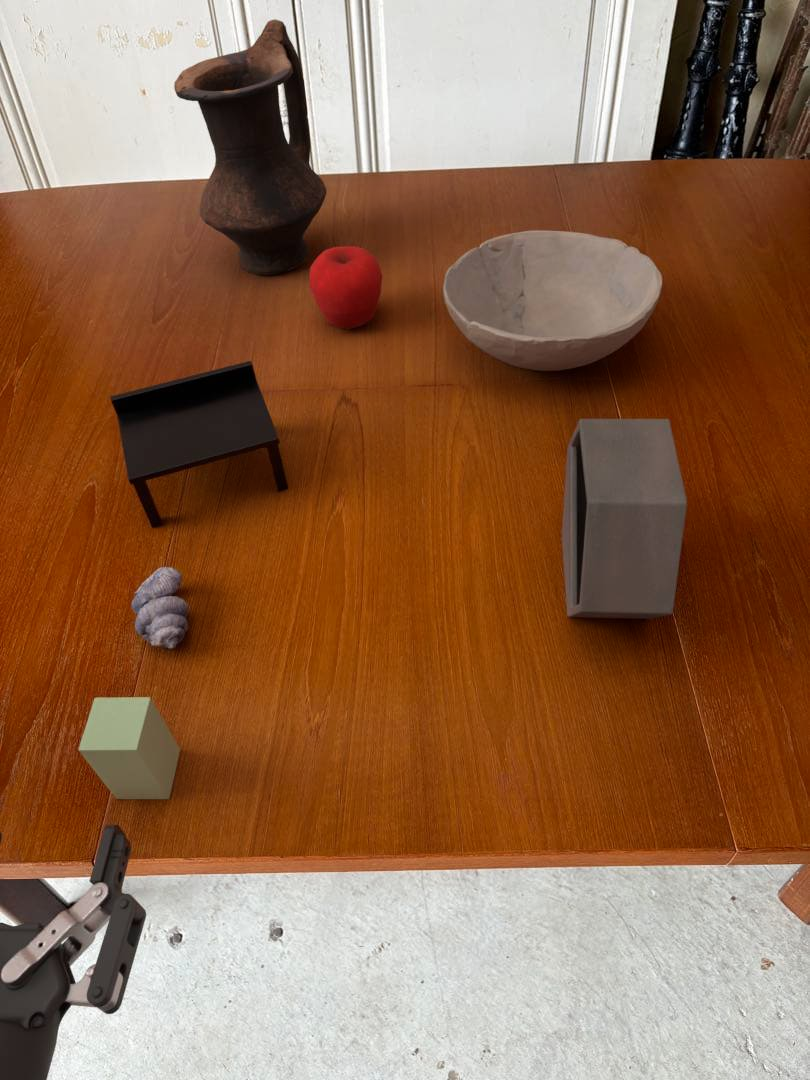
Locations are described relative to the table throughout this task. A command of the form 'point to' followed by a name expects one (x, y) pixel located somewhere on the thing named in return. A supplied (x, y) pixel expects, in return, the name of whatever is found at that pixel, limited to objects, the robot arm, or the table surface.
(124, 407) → the bench
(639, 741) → the table surface
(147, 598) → the seashell
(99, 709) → the block
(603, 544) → the grey open box
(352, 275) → the apple
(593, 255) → the bowl
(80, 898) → the robot arm
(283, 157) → the jug
